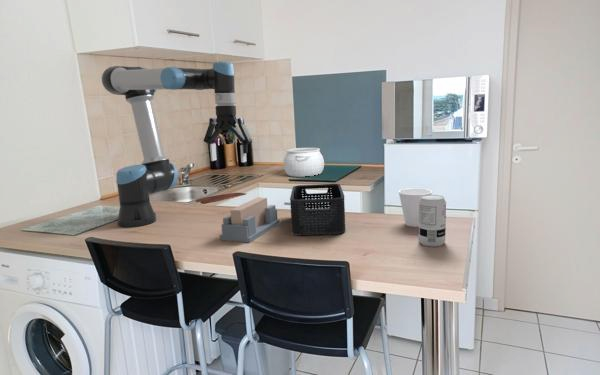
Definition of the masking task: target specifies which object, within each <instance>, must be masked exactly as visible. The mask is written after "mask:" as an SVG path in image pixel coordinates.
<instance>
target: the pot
mask: <svg viewBox="0 0 600 375" xmlns="http://www.w3.org/2000/svg"><path fill="white" fill-rule="evenodd" d="M324 167H325V160H324V156H323V154H322V153H321V148H319V147H295V148H290V149H286V154H285V156H284V158H283V169H284V172H285V174H286V175H287V176H289V177H292V178H293V177H295V178H306V177H305V176H310V177H315V176H314V175H316V176H319V175H321V174H322V173H323V171H324ZM318 174H319V175H318Z"/></svg>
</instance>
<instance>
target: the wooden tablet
mask: <svg viewBox="0 0 600 375" xmlns="http://www.w3.org/2000/svg"><path fill="white" fill-rule="evenodd" d="M246 195H247V193H245V192H231V193H223V194H218V195H212V196H207V197H202V198H198V199H196V200H195V202H197V203H201V204H209V203H215V202H220V201H224V200H228V199H233V198H238V197H241V196H246Z"/></svg>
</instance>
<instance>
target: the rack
mask: <svg viewBox="0 0 600 375" xmlns="http://www.w3.org/2000/svg"><path fill="white" fill-rule="evenodd" d="M265 219H266V222H265V223H263V224H261V225H259V226H258V227H256V226H255V216H249V217H247V218H245V219H243V226H242V225H232V223H231V214H229V215H227V216H225V217H223V218H222V224H221V234H219V240H221V241H231V242H241V243H242V242H243V243H251V242H253V241H254V240H255V241H256V239H257V238H259V237H261V236H263V235H265V234H266V233H267V232H269V231H271V229H274V228H275V227H276V225H277V226H278V225H280V224H281V220H280V218H279V219H278V209H276V205H275V204H271V205H270V204H269V205H267V207H266V208H265ZM265 232H266V233H265Z"/></svg>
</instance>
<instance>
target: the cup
mask: <svg viewBox="0 0 600 375" xmlns="http://www.w3.org/2000/svg"><path fill="white" fill-rule="evenodd" d="M398 194H399V200H400V205H401V209H402V214H403V219H404V224H405V225H406V226H407V227H415V228H417V227H418V220H419V200H420V199H421V196H424V195H433V191H432V190H431V189H428V188H427V189H426V188H419V187H415V188H413V187H411V188H403V189H399V190H398Z"/></svg>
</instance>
